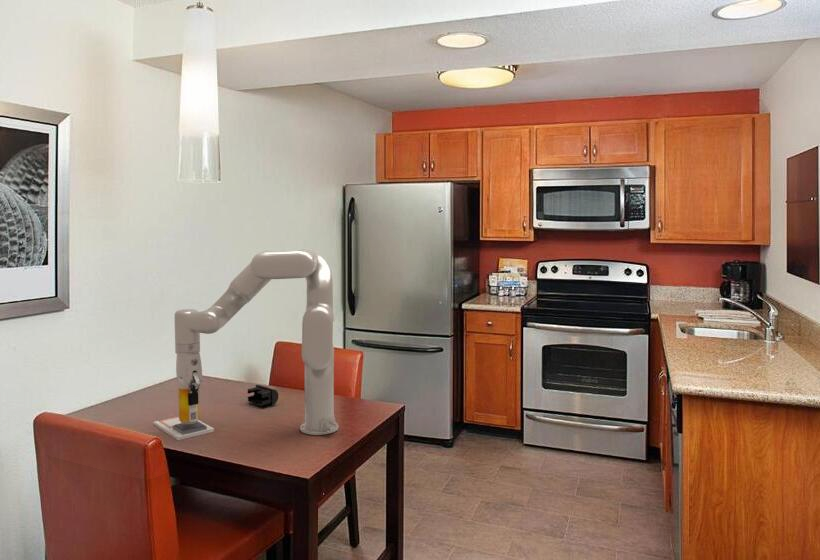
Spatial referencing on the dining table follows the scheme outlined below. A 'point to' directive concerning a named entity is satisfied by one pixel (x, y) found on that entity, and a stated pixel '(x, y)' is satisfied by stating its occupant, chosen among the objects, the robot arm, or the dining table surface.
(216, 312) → the robot arm
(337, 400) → the dining table surface
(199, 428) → the stamping board
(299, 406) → the dining table surface
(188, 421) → the beer can
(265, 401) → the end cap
